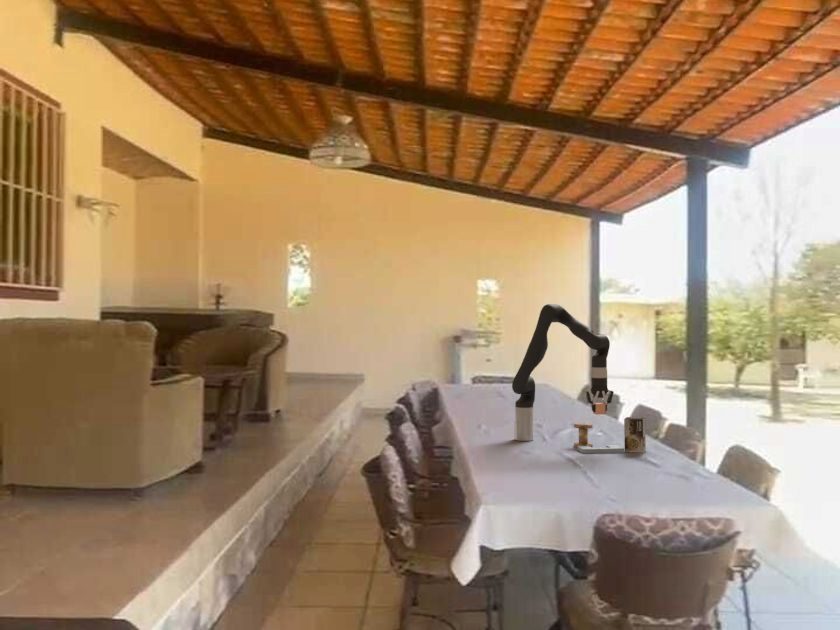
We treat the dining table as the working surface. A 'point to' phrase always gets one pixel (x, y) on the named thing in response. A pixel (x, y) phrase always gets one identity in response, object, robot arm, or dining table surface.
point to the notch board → (601, 449)
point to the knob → (583, 434)
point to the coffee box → (634, 434)
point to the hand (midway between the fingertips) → (599, 412)
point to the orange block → (599, 408)
